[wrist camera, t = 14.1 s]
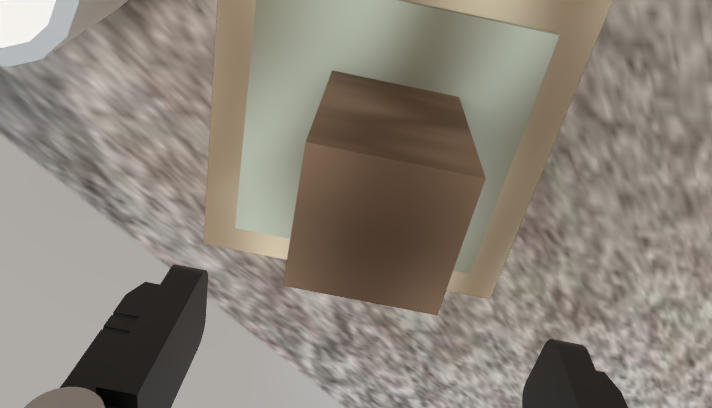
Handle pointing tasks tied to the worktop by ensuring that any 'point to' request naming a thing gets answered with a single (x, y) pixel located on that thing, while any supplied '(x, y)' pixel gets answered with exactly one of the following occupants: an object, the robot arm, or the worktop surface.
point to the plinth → (400, 66)
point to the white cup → (45, 25)
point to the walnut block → (383, 194)
